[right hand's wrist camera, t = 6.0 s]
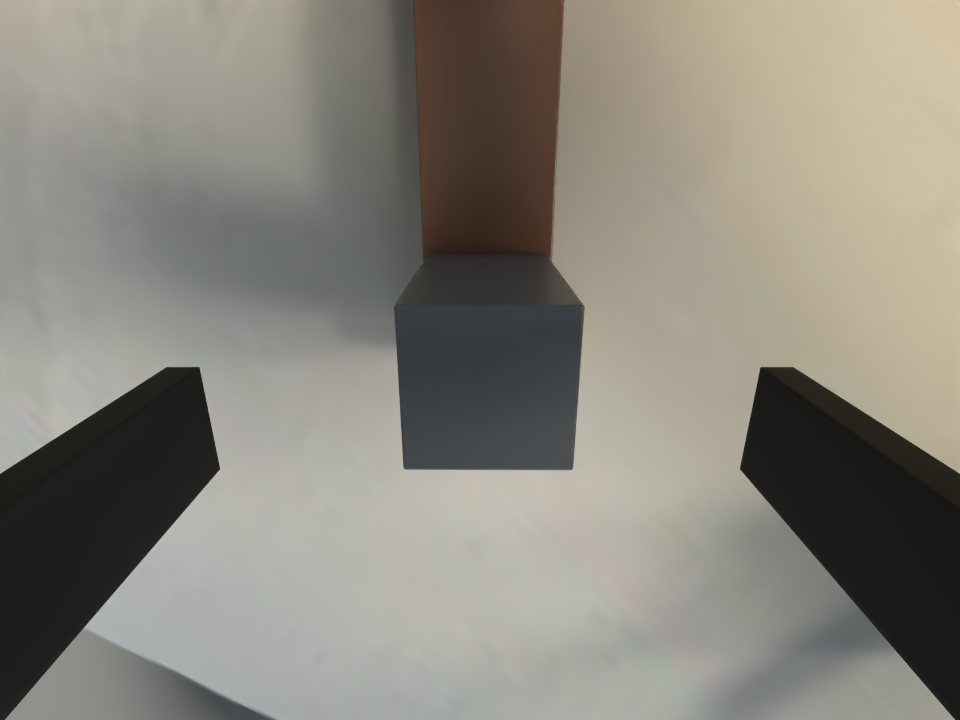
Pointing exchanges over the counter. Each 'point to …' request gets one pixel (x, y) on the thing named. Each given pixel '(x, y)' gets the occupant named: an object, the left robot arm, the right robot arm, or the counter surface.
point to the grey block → (488, 364)
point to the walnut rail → (488, 123)
